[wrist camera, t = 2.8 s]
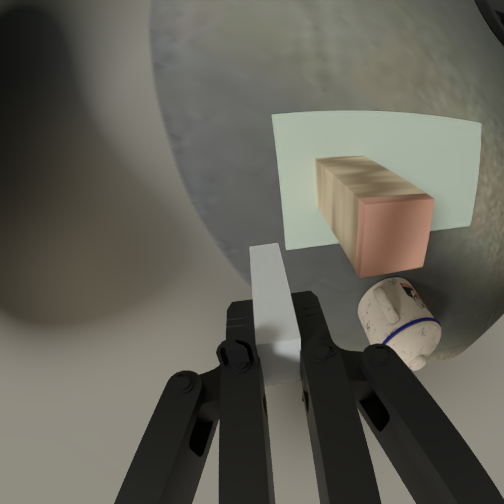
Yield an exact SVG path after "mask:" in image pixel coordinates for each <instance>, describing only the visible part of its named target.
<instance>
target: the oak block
mask: <svg viewBox="0 0 504 504" xmlns="http://www.w3.org/2000/svg"><path fill="white" fill-rule="evenodd" d="M315 173H316V191H317V208H318V209H319V211H320V212H321V214H322V215H323V217H324V219H325V220H326V222H327V223H328V225H329V227H330V228H331V230H332V232H333V233H334V235H335V237H336V238H337V240H338V242H339V243H340V245H341V247H342V248H343V250H344V252H345V253H346V255H347V257H348V259H349V260H350V262H351V264H352V266H353V267H354V269H355V271H356V273H357V274H358V276H359V278H364V277H370V276H376V275H382V274H387V273H393V272H398V271H404V270H409V269H414V268H419V267H423V264H424V259H425V255H426V250H427V245H428V239H429V234H430V228H431V222H432V216H433V209H434V201H435V199H434V198H433V197H431V196H430V195H428V194H427V193H425V192H424V191H422V190H421V189H419V188H417V187H416V186H414V185H413V184H411V183H410V182H408V181H406V180H405V179H403V178H402V177H400V176H398V175H397V174H395V173H393V172H392V171H390V170H388V169H386V168H385V167H383V166H381V165H379V164H378V163H376V162H374V161H372V160H370V159H369V158H367V157H365V156H343V157H327V158H315Z"/></svg>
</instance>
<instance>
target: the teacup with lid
mask: <svg viewBox="0 0 504 504" xmlns="http://www.w3.org/2000/svg"><path fill="white" fill-rule="evenodd" d="M358 316H359V319H360V321H361V323H362V325H363V328H364V330H365V332H366V335H367V337H368V340H369V342H370V344H371V345H372V344H376V343H380V344H385V345H388V346H390V347H391V348H392V349H393V350H394V351H395V352H396V353H397V354H398V355H399V357H400V358H401V359H402V360H403V361H404V363H405V364H406V365H407V366H408V368H411V369H412V370H414V371H416V370H419V369H421V368H422V367H423V366H424V365H425V363H426V359H425V358H426V357H427V356H429V355H430V354H431V353H432V351H433V350H434V349H435V348H436V346H437V345H438V343H439V341H440V338H441V326H440V323H439V322H438V321H437V320H436V319H434V317H433V316H432V314H431V313H430V311H429V310H428V308H427V307H426V305H425V304H424V302H423V301H422V300H421V298H420V297H419V295H418V294H417V292H416V291H415V289H414V288H413V287H412V285H411V284H410V283H409V282H408V281H407V280H406V279H403V278H400V277H392V278H387V279H384V280H382V281H380V282H378V283H376V284H375V285H373V286H372V287H371V288H370V289H369V290H368V291H367V292H366V293H365V294H364V296H363V297H362V299H361V301H360V303H359V306H358Z"/></svg>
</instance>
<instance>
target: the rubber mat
mask: <svg viewBox="0 0 504 504" xmlns="http://www.w3.org/2000/svg"><path fill="white" fill-rule="evenodd" d="M272 122H273V130H274V138H275V146H276V155H277V164H278V173H279V182H280V192H281V202H282V212H283V223H284V234H285V245H286V250H291V249H299V248H307V247H314V246H322V245H330V244H337V243H339V242H338V240H337V238H336V237H335V235H334V233H333V232H332V230H331V228H330V227H329V225H328V223H327V222H326V220H325V219H324V217H323V215H322V214H321V212H320V211H319V209H318V208H317V191H316V173H315V158H327V157H343V156H365V157H367V158H369V159H370V160H372V161H374V162H376V163H378V164H379V165H381V166H383V167H385V168H386V169H388V170H390V171H392V172H393V173H395V174H397V175H398V176H400V177H402V178H403V179H405V180H406V181H408V182H410V183H411V184H413V185H414V186H416V187H417V188H419V189H421V190H422V191H424V192H425V193H427V194H428V195H430V196H431V197H433V198H434V199H435V201H434V209H433V216H432V222H431V228H430V231H435V230H443V229H450V228H457V227H465V226H470V223H471V219H472V213H473V208H474V202H475V196H476V189H477V181H478V173H479V163H480V149H481V123H478V122H473V121H467V120H461V119H455V118H449V117H442V116H434V115H425V114H415V113H404V112H388V111H312V112H296V113H283V114H273V115H272Z"/></svg>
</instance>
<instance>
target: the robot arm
mask: <svg viewBox="0 0 504 504" xmlns="http://www.w3.org/2000/svg"><path fill="white" fill-rule="evenodd" d="M475 1H476V3H477V5H478V7H479V9H480V11H481V13H482V15H483V16H484V18H485V20H486V21H487V23H488V25H489V26H490V28H491V29H492V31H493V32H494V33H495V35H496V36H497V37H498V39H499V40H500V41H501V42H502V43H503V44H504V0H475ZM249 248H250V264H251V279H252V295H253V299H252V300H244V301H236V302H232V303H231V305H230V306H229V308H228V310H227V324H226V326H227V328H226V340H225V341H223V342H222V343H221V344H220V345H219V346H218V348H217V351H216V354H217V357H218V359H219V362H220V365H219V366H218V367H217V368H215V369H213V370H211V371H209V372H206V373H203V374H200V375H198V374H197V373H195V372H193V371H181V372H178V373H176V374H174V375H173V376H171V378H170V379H169V380H168V382H167V384H166V387H165V389H164V391H163V393H162V395H161V397H160V399H159V402H158V404H157V406H156V408H155V411H154V413H153V415H152V417H151V419H150V422H149V424H148V426H147V428H146V431H145V433H144V435H143V437H142V440H141V442H140V444H139V447H138V449H137V451H136V453H135V456H134V458H133V460H132V463H131V465H130V467H129V470H128V472H127V475H126V477H125V479H124V481H123V484H122V486H121V489H120V491H119V493H118V496H117V498H116V501H115V503H114V504H192V502H193V499H194V496H195V493H196V490H197V487H198V483H199V480H200V478H201V474H202V471H203V468H204V465H205V462H206V459H207V455H208V453H209V449H210V446H211V443H212V440H213V437H214V434H215V430H216V426H217V424H218V421H219V419H220V427H219V504H275V495H274V484H273V472H272V460H271V449H270V438H269V426H268V415H267V403H266V396H265V390H264V386H269V385H277V384H284V383H291V382H298V381H301V380H302V386H303V396H302V401H304V404H305V410H306V416H307V422H308V428H309V433H310V440H311V446H312V452H313V458H314V464H315V471H316V478H317V484H318V491H319V498H320V504H381V500H380V496H379V491H378V486H377V482H376V478H375V474H374V469H373V465H372V461H371V457H370V454H369V449H368V446H367V442H366V438H365V434H364V431H363V427H362V423H361V420H360V416H359V413H358V409H359V411H360V412H361V414H362V416H363V417H364V419H365V421H366V422H367V424H368V425H369V427H370V429H371V430H372V432H373V434H374V435H375V437H376V438H377V440H378V442H379V443H380V445H381V447H382V448H383V450H384V451H385V453H386V455H387V456H388V458H389V460H390V461H391V463H392V465H393V466H394V468H395V469H396V471H397V473H398V474H399V476H400V477H401V479H402V481H403V483H404V484H405V486H406V488H407V489H408V491H409V492H410V494H411V496H412V497H413V499H414V501H415V502H416V504H504V499H503V498H502V496H501V494H500V492H499V491H498V489H497V487H496V486H495V484H494V483H493V481H492V480H491V478H490V477H489V475H488V474H487V472H486V471H485V469H484V468H483V466H482V465H481V463H480V462H479V460H478V459H477V458H476V456H475V455H474V453H473V452H472V450H471V449H470V448H469V446H468V445H467V443H466V442H465V440H464V439H463V438H462V436H461V435H460V434H459V432H458V431H457V430H456V428H455V427H454V425H453V424H452V423H451V422H450V420H449V419H448V417H447V416H446V415H445V413H444V412H443V411H442V409H441V408H440V407H439V406H438V404H437V403H436V402H435V400H434V399H433V398H432V396H431V395H430V394H429V393H428V391H427V390H426V389H425V388H424V386H423V385H422V384H421V382H420V381H419V380H418V379H417V377H415V375H414V374H413V373H412V372H411V370H410V369H409V368H408V366H407V365H406V364H405V363H404V361H403V360H402V359H401V358H400V357H399V355H398V354H397V353H396V352H395V351H394V350H393V349H392V348H391V347H390V346H388V345H385V344H380V343H376V344H372V345H369V346H368V347H367V348H365V350H364V351H363V352H358V351H348V350H344V349H341V348H339V347H338V346H336V344H335V343H334V342H333V341H332V339H331V336H330V333H329V330H328V327H327V324H326V321H325V318H324V315H323V312H322V309H321V307H320V303H319V300H318V297H317V296H316V295H315V294H314V293H312V292H311V291H305V292H298V293H291V294H290V290H289V286H288V282H287V277H286V273H285V269H284V265H283V261H282V257H281V253H280V249H279V245H278V243H274V244H267V245H259V246H252V247H249ZM357 408H358V409H357Z"/></svg>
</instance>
